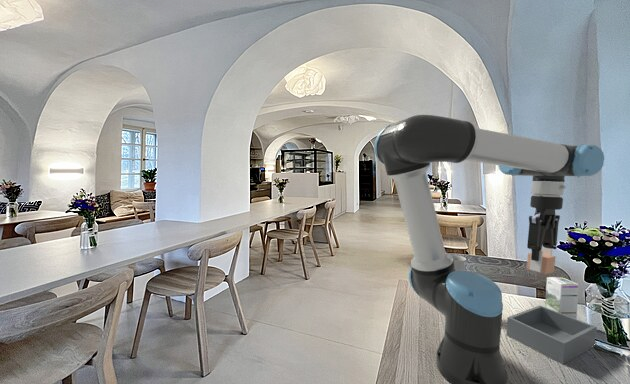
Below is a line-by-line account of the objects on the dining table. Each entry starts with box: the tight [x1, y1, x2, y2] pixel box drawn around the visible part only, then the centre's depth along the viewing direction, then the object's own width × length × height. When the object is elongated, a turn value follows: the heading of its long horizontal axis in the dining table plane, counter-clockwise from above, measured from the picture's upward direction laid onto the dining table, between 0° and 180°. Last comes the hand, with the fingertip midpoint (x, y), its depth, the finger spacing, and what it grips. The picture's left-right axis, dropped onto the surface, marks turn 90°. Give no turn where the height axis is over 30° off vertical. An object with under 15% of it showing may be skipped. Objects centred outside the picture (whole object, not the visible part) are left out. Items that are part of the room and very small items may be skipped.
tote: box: [506, 305, 598, 365], centre depth 78 cm, size 18×14×6 cm
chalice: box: [449, 253, 467, 271], centre depth 99 cm, size 7×7×18 cm
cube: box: [526, 252, 556, 275], centre depth 84 cm, size 5×5×5 cm
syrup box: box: [544, 276, 580, 320], centre depth 87 cm, size 6×6×14 cm
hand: (540, 269), depth 84 cm, fingers closed on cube, 5 cm apart
